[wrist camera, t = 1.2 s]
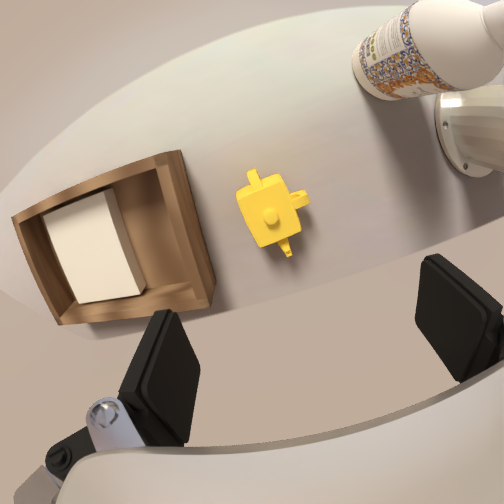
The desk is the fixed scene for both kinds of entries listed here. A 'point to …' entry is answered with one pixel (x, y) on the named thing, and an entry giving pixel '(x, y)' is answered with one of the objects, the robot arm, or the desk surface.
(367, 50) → the bath foam
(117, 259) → the plate
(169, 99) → the desk surface
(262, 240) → the teapot
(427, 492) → the robot arm
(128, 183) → the box
